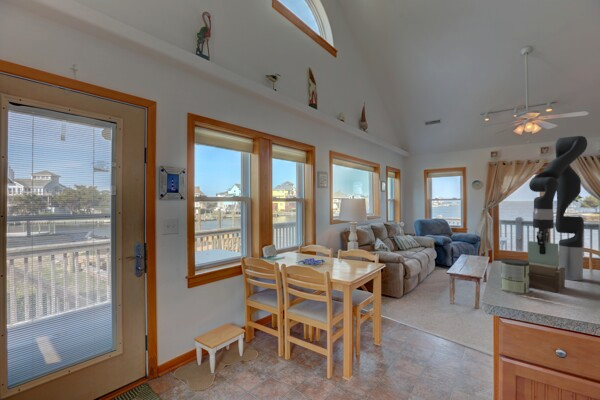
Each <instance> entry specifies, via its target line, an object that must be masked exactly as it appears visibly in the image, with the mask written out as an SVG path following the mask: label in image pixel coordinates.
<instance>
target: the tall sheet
mask: <svg viewBox="0 0 600 400" xmlns="http://www.w3.org/2000/svg"><path fill="white" fill-rule="evenodd" d="M541 243H543V242H541ZM527 248H528V249H527V252H528V253H527V261H528V262H530V263H537V264H544V265H551V266H557V270H559V243H553V242H548V243H546V254H540V253H539V245H538V242H537V241H535V240H534V241H533V240H528V245H527Z"/></svg>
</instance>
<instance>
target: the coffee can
mask: <svg viewBox="0 0 600 400" xmlns="http://www.w3.org/2000/svg"><path fill="white" fill-rule="evenodd" d="M500 262H501V264H500V266H501V267H500V268H501V269H500V272H501V275H500V276H501V277H500V279H501V280H500V281H501V282H500V285H501V291H503V292H504V293H508V294H511V295H516V296H526V294H528V293H529V292H530V287H529V262H528V260H525V259H517V258H501V259H500Z"/></svg>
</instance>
